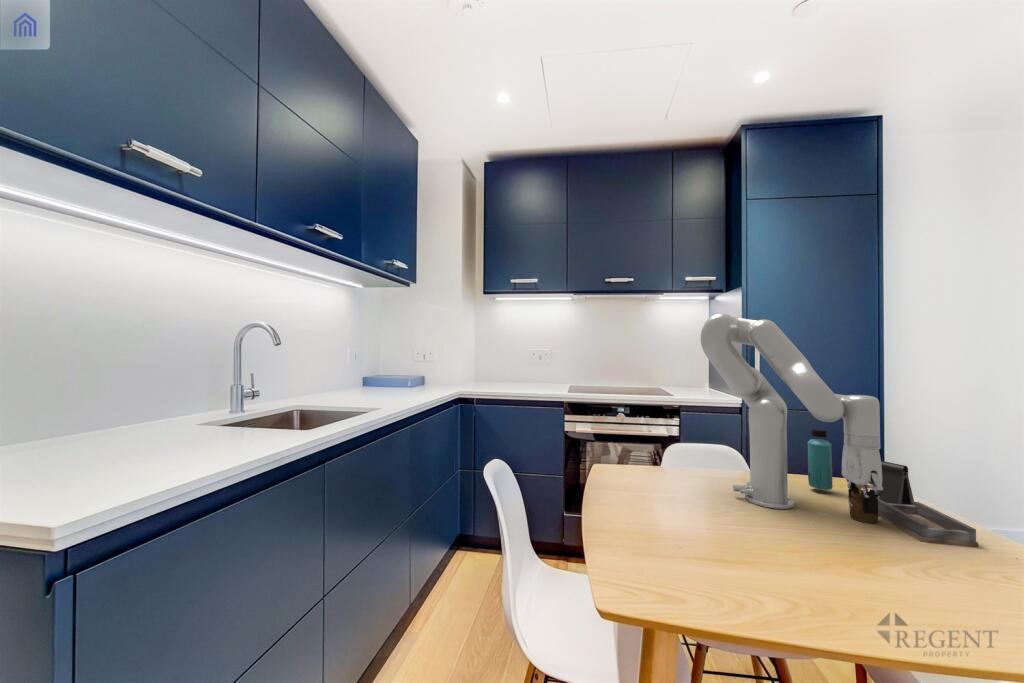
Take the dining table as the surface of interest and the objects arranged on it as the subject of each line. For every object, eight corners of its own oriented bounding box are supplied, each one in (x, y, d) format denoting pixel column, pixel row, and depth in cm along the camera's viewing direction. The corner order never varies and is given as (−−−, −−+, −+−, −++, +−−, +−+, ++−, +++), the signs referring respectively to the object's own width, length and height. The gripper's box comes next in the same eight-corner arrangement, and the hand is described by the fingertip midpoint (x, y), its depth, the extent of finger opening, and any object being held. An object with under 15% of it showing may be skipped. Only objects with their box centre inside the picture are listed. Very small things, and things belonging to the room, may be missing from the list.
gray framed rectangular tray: (920, 541, 97) (920, 524, 97) (873, 512, 114) (872, 498, 114) (977, 546, 94) (977, 529, 94) (920, 516, 111) (919, 502, 112)
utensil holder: (881, 520, 108) (880, 475, 109) (873, 525, 105) (872, 479, 105) (854, 513, 113) (853, 470, 114) (845, 518, 110) (844, 473, 110)
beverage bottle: (838, 495, 128) (837, 431, 129) (817, 494, 129) (816, 431, 129) (822, 488, 135) (821, 427, 136) (802, 487, 135) (801, 427, 136)
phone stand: (890, 498, 126) (889, 459, 126) (914, 505, 120) (914, 464, 120) (872, 502, 122) (871, 462, 123) (897, 509, 117) (896, 467, 117)
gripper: (829, 434, 119) (830, 496, 119) (864, 447, 103) (866, 519, 102) (859, 435, 118) (860, 498, 117) (900, 449, 101) (901, 522, 100)
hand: (862, 507), depth 110 cm, fingers closed on utensil holder, 5 cm apart
